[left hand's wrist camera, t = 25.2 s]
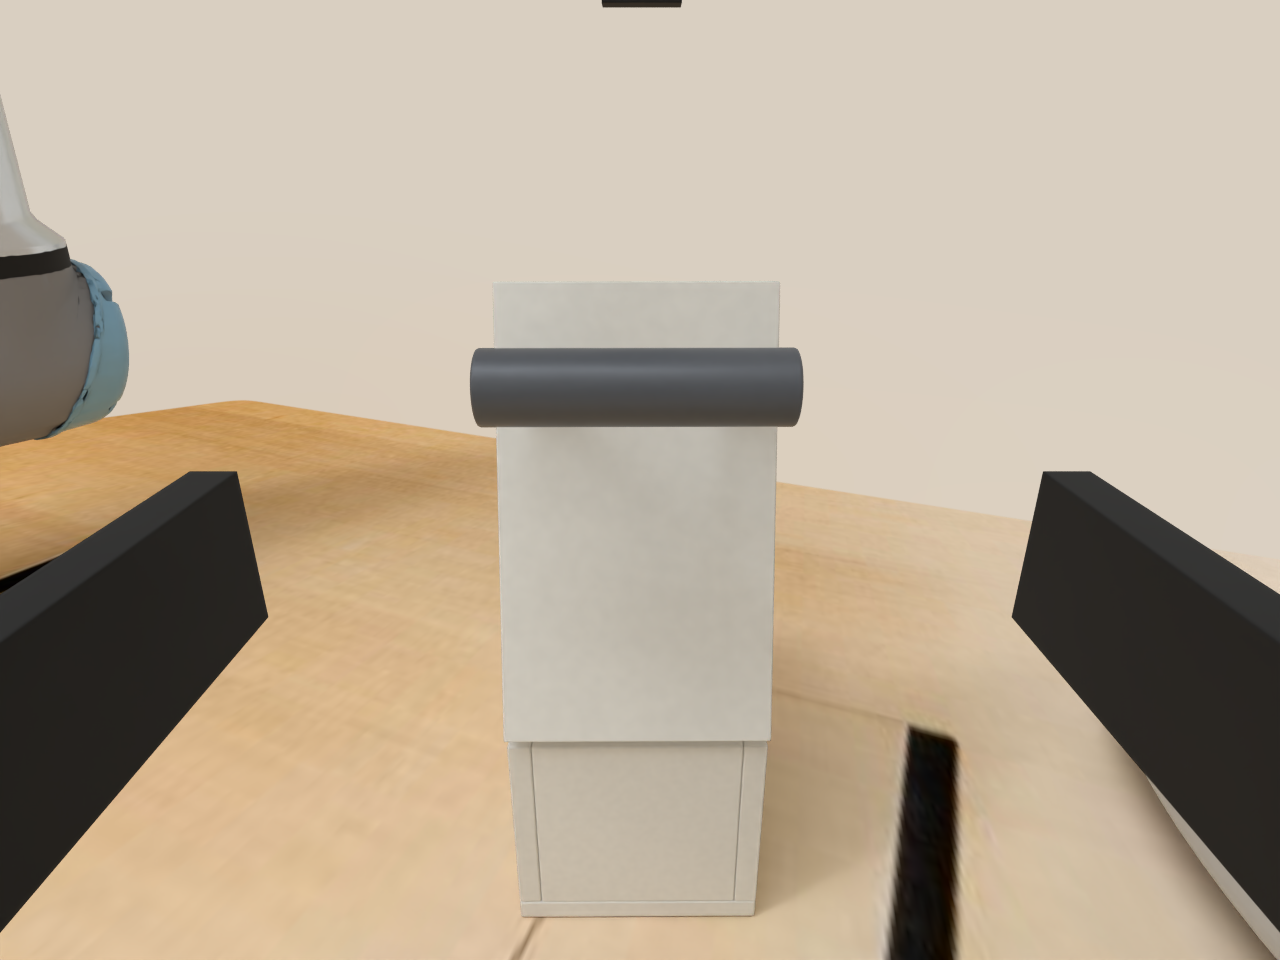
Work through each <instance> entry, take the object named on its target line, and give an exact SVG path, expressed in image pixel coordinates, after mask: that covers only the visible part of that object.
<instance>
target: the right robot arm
mask: <svg viewBox="0 0 1280 960" xmlns="http://www.w3.org/2000/svg"><path fill="white" fill-rule="evenodd" d="M681 3H682V0H602V6H603V7H681ZM128 369H129V349H128V339H127V332H126V327H125V323H124V319H123V316H122V313H121V310H120V308H119V305H118V304H117V303H115V302H112V290H111V289H110V287H109V285H108V284H107V282H106V281H105V280H104V278H103V277H102V276H101V275H100V274H99V273H98V272H96V271H95V270H94V269H93V268H92V267H90V266H88V265H86V264H83V263H80V262H77V261H75V260H72V259H70V257H69V253H68V249H67V244H66V241H65V239H64V238H63V237H62V236H60V235H59V234H58V233H56V232H55V231H53V230H52V229H50V228H49V227H47V226H46V225H45V224H43V223H42V222H40V221H39V220H37V219H36V218H35V216H34V215H33V214H32V213H31V212H30V209H29V205H28V201H27V197H26V193H25V189H24V185H23V182H22V178H21V174H20V170H19V166H18V162H17V158H16V154H15V150H14V147H13V143H12V139H11V135H10V131H9V127H8V123H7V119H6V116H5V112H4V108H3V104H2V100H1V96H0V447H1V446H5V445H9V444H14V443H18V442H23V441H27V440H32V439H34V440H41V439H46V438H51V437H53V436H56V435H57V434H59V433H61V432H63V431H66V430H69V429H73V428H76V427H79V426H83V425H87V424H90V423H93V422H96V421H98V420H100V419H102V418H104V417H105V416H106V415H108V414H109V413H110V412H111V411H112V410H113V408H114V407H115V405H116V403H117V401H119V400H120V398H121V397H122V394H123V392H124V389H125V386H126V382H127V377H128Z"/></svg>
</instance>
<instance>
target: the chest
mask: <svg viewBox="0 0 1280 960" xmlns="http://www.w3.org/2000/svg"><path fill="white" fill-rule="evenodd" d="M507 751H508V763H509V775H510V787H511V799H512V811H513V822H514V834H515V846H516V858H517V870H518V882H519V893H520V905H521V915H522V916H523V917H594V916H753V915H754V912H755V899H756V889H757V876H758V864H759V851H760V839H761V826H762V814H763V801H764V789H765V776H766V764H767V751H768V745H767V741H637V742H508V747H507Z"/></svg>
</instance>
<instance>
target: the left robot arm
mask: <svg viewBox="0 0 1280 960" xmlns="http://www.w3.org/2000/svg"><path fill="white" fill-rule="evenodd" d="M267 618H268V613H267V609H266V604H265V600H264V595H263V590H262V586H261V581H260V576H259V572H258V567H257V562H256V558H255V553H254V549H253V544H252V539H251V535H250V530H249V525H248V521H247V516H246V512H245V507H244V502H243V498H242V493H241V488H240V484H239V479H238V474H237V471H190V472H188V473H187V474H185V475H184V476H182V477H181V478H179V479H177V480H176V481H174V482H173V483H171V484H170V485H168V486H167V487H165V488H164V489H162V490H161V491H159V492H157V493H156V494H154V495H153V496H151V497H150V498H148V499H147V500H145V501H144V502H142V503H140V504H139V505H137V506H136V507H134V508H133V509H131V510H130V511H128V512H127V513H125V514H124V515H122V516H120V517H119V518H117V519H116V520H114V521H113V522H111V523H110V524H108V525H107V526H105V527H103V528H102V529H100V530H99V531H97V532H96V533H94V534H93V535H91V536H90V537H88V538H87V539H85V540H83V541H82V542H80V543H79V544H77V545H76V546H74V547H73V548H71V549H70V550H68V551H66V552H65V553H63V554H62V555H60V556H59V557H57V558H56V559H54V560H53V561H51V562H50V563H48V564H46V565H45V566H43V567H42V568H40V569H39V570H37V571H36V572H34V573H33V574H31V575H30V576H28V577H26V578H25V579H23V580H22V581H20V582H19V583H17V584H16V585H14V586H13V587H11V588H9V589H8V590H6V591H5V592H3V593H2V594H0V932H1V931H2V930H3V929H4V928H5V926H6V925H7V924H8V923H9V922H10V921H11V919H12V918H13V917H14V916H15V915H16V913H17V912H18V911H19V910H20V909H21V908H22V906H23V905H24V904H25V903H26V902H27V901H28V899H29V898H30V897H31V896H32V895H33V893H34V892H35V891H36V890H37V889H38V888H39V886H40V885H41V884H42V883H43V882H44V881H45V879H46V878H47V877H48V876H49V875H50V873H51V872H52V871H53V870H54V869H55V868H56V866H57V865H58V864H59V863H60V862H61V860H62V859H63V858H64V857H65V856H66V855H67V853H68V852H69V851H70V850H71V849H72V848H73V846H74V845H75V844H76V843H77V842H78V840H79V839H80V838H81V837H82V836H83V835H84V833H85V832H86V831H87V830H88V829H89V828H90V826H91V825H92V824H93V823H94V822H95V820H96V819H97V818H98V817H99V816H100V815H101V813H102V812H103V811H104V810H105V809H106V808H107V806H108V805H109V804H110V803H111V802H112V800H113V799H114V798H115V797H116V796H117V795H118V793H119V792H120V791H121V790H122V789H123V787H124V786H125V785H126V784H127V783H128V782H129V780H130V779H131V778H132V777H133V776H134V775H135V773H136V772H137V771H138V770H139V769H140V767H141V766H142V765H143V764H144V763H145V762H146V760H147V759H148V758H149V757H150V756H151V755H152V753H153V752H154V751H155V750H156V749H157V747H158V746H159V745H160V744H161V743H162V742H163V740H164V739H165V738H166V737H167V736H168V735H169V733H170V732H171V731H172V730H173V729H174V727H175V726H176V725H177V724H178V723H179V722H180V720H181V719H182V718H183V717H184V716H185V715H186V713H187V712H188V711H189V710H190V709H191V707H192V706H193V705H194V704H195V703H196V702H197V700H198V699H199V698H200V697H201V696H202V694H203V693H204V692H205V691H206V690H207V689H208V687H209V686H210V685H211V684H212V683H213V682H214V680H215V679H216V678H217V677H218V676H219V674H220V673H221V672H222V671H223V670H224V669H225V667H226V666H227V665H228V664H229V663H230V662H231V660H232V659H233V658H234V657H235V656H236V654H237V653H238V652H239V651H240V650H241V649H242V647H243V646H244V645H245V644H246V643H247V642H248V640H249V639H250V638H251V637H252V636H253V634H254V633H255V632H256V631H257V630H258V629H259V627H260V626H261V625H262V624H263V623H264V621H265V620H266V619H267ZM1012 618H1013V619H1014V620H1015V621H1016V623H1017V624H1018V625H1019V626H1020V627H1021V629H1022V630H1023V631H1024V632H1025V633H1026V634H1027V636H1028V637H1029V638H1030V639H1031V640H1032V642H1033V643H1034V644H1035V645H1036V646H1037V647H1038V649H1039V650H1040V651H1041V652H1042V653H1043V654H1044V656H1045V657H1046V658H1047V659H1048V660H1049V662H1050V663H1051V664H1052V665H1053V666H1054V667H1055V669H1056V670H1057V671H1058V672H1059V673H1060V674H1061V676H1062V677H1063V678H1064V679H1065V680H1066V682H1067V683H1068V684H1069V685H1070V686H1071V687H1072V689H1073V690H1074V691H1075V692H1076V693H1077V694H1078V696H1079V697H1080V698H1081V699H1082V700H1083V702H1084V703H1085V704H1086V705H1087V706H1088V707H1089V709H1090V710H1091V711H1092V712H1093V713H1094V715H1095V716H1096V717H1097V718H1098V719H1099V720H1100V722H1101V723H1102V724H1103V725H1104V726H1105V727H1106V729H1107V730H1108V731H1109V732H1110V733H1111V735H1112V736H1113V737H1114V738H1115V739H1116V740H1117V742H1118V743H1119V744H1120V745H1121V746H1122V747H1123V749H1124V750H1125V751H1126V752H1127V753H1128V755H1129V756H1130V757H1131V758H1132V759H1133V760H1134V762H1135V763H1136V764H1137V765H1138V766H1139V767H1140V769H1141V770H1142V771H1143V772H1144V773H1145V775H1146V776H1147V777H1148V778H1149V779H1150V780H1151V782H1152V783H1153V784H1154V785H1155V786H1156V788H1157V789H1158V790H1159V791H1160V792H1161V793H1162V795H1163V796H1164V797H1165V798H1166V799H1167V800H1168V802H1169V803H1170V804H1171V805H1172V806H1173V808H1174V809H1175V810H1176V811H1177V812H1178V813H1179V815H1180V816H1181V817H1182V818H1183V819H1184V820H1185V822H1186V823H1187V824H1188V825H1189V826H1190V828H1191V829H1192V830H1193V831H1194V832H1195V833H1196V835H1197V836H1198V837H1199V838H1200V839H1201V840H1202V842H1203V843H1204V844H1205V845H1206V846H1207V848H1208V849H1209V850H1210V851H1211V852H1212V853H1213V855H1214V856H1215V857H1216V858H1217V859H1218V860H1219V862H1220V863H1221V864H1222V865H1223V866H1224V868H1225V869H1226V870H1227V871H1228V872H1229V873H1230V875H1231V876H1232V877H1233V878H1234V879H1235V881H1236V882H1237V883H1238V884H1239V885H1240V886H1241V888H1242V889H1243V890H1244V891H1245V892H1246V893H1247V895H1248V896H1249V897H1250V898H1251V899H1252V901H1253V902H1254V903H1255V904H1256V905H1257V906H1258V908H1259V909H1260V910H1261V911H1262V912H1263V913H1264V915H1265V916H1266V917H1267V918H1268V919H1269V921H1270V922H1271V923H1272V924H1273V925H1274V926H1275V928H1276V929H1277V930H1278V931H1279V932H1280V594H1278V593H1277V592H1275V591H1274V590H1272V589H1271V588H1269V587H1267V586H1266V585H1264V584H1263V583H1261V582H1260V581H1258V580H1257V579H1255V578H1254V577H1252V576H1250V575H1249V574H1247V573H1246V572H1244V571H1243V570H1241V569H1240V568H1238V567H1237V566H1235V565H1234V564H1232V563H1230V562H1229V561H1227V560H1226V559H1224V558H1223V557H1221V556H1220V555H1218V554H1217V553H1215V552H1214V551H1212V550H1210V549H1209V548H1207V547H1206V546H1204V545H1203V544H1201V543H1200V542H1198V541H1197V540H1195V539H1193V538H1192V537H1190V536H1189V535H1187V534H1186V533H1184V532H1183V531H1181V530H1180V529H1178V528H1176V527H1175V526H1173V525H1172V524H1170V523H1169V522H1167V521H1166V520H1164V519H1163V518H1161V517H1159V516H1158V515H1156V514H1155V513H1153V512H1152V511H1150V510H1149V509H1147V508H1146V507H1144V506H1143V505H1141V504H1140V503H1138V502H1136V501H1135V500H1133V499H1132V498H1130V497H1129V496H1127V495H1126V494H1124V493H1123V492H1121V491H1119V490H1118V489H1116V488H1115V487H1113V486H1112V485H1110V484H1109V483H1107V482H1106V481H1104V480H1103V479H1101V478H1099V477H1098V476H1096V475H1095V474H1093V473H1092V472H1088V471H1086V472H1082V471H1081V472H1080V471H1078V472H1077V471H1073V472H1071V471H1069V472H1068V471H1067V472H1066V471H1064V472H1063V471H1058V472H1057V471H1053V472H1052V471H1047V472H1046V471H1045V472H1043V474H1042V479H1041V484H1040V488H1039V493H1038V498H1037V502H1036V507H1035V512H1034V516H1033V521H1032V525H1031V530H1030V535H1029V539H1028V544H1027V549H1026V553H1025V558H1024V562H1023V567H1022V572H1021V576H1020V581H1019V586H1018V590H1017V595H1016V600H1015V604H1014V609H1013V613H1012Z"/></svg>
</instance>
